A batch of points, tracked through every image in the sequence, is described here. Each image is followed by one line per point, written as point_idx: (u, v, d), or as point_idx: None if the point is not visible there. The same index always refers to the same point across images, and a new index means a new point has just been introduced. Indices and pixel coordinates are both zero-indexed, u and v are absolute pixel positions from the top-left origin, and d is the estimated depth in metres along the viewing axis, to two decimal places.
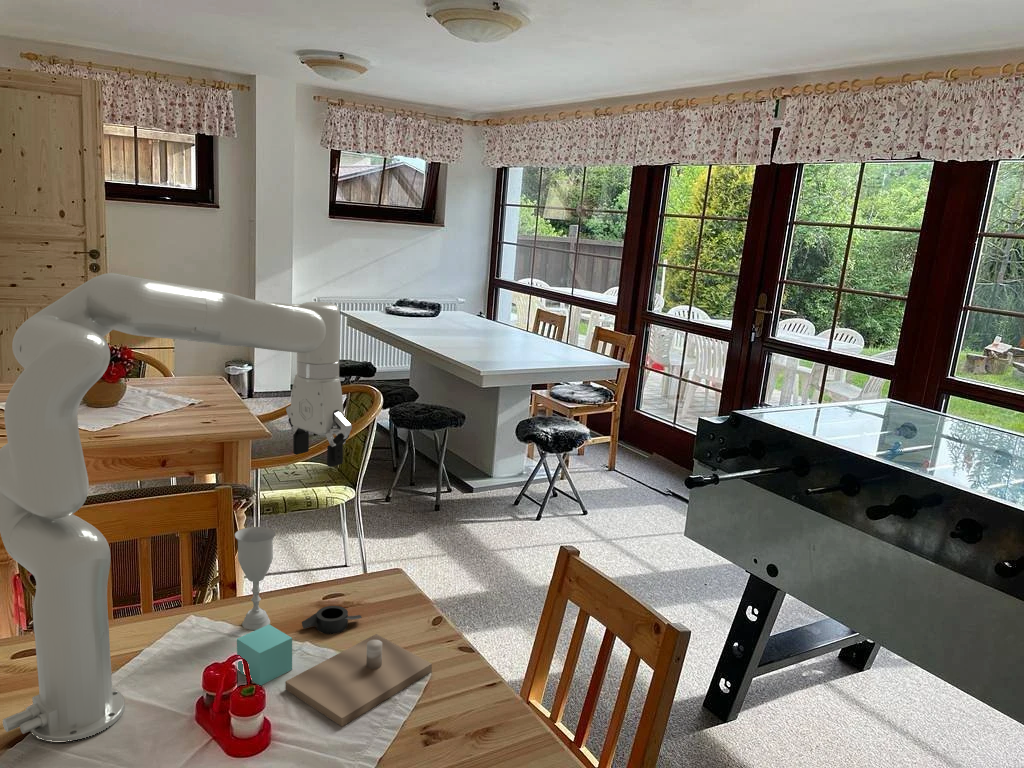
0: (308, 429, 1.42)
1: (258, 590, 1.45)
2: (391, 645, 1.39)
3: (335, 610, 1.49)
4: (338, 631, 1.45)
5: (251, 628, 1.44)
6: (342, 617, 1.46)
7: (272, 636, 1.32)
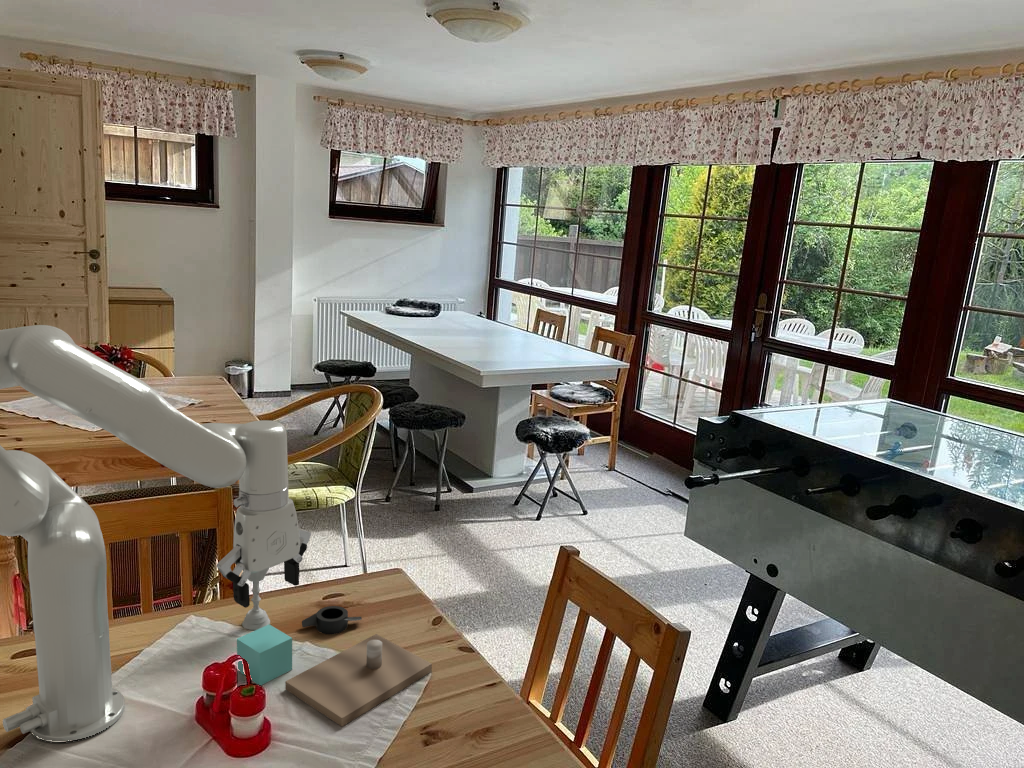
0: (281, 561, 1.27)
1: (258, 590, 1.45)
2: (391, 645, 1.39)
3: (336, 610, 1.49)
4: (337, 632, 1.45)
5: (251, 628, 1.44)
6: (341, 618, 1.45)
7: (272, 636, 1.32)
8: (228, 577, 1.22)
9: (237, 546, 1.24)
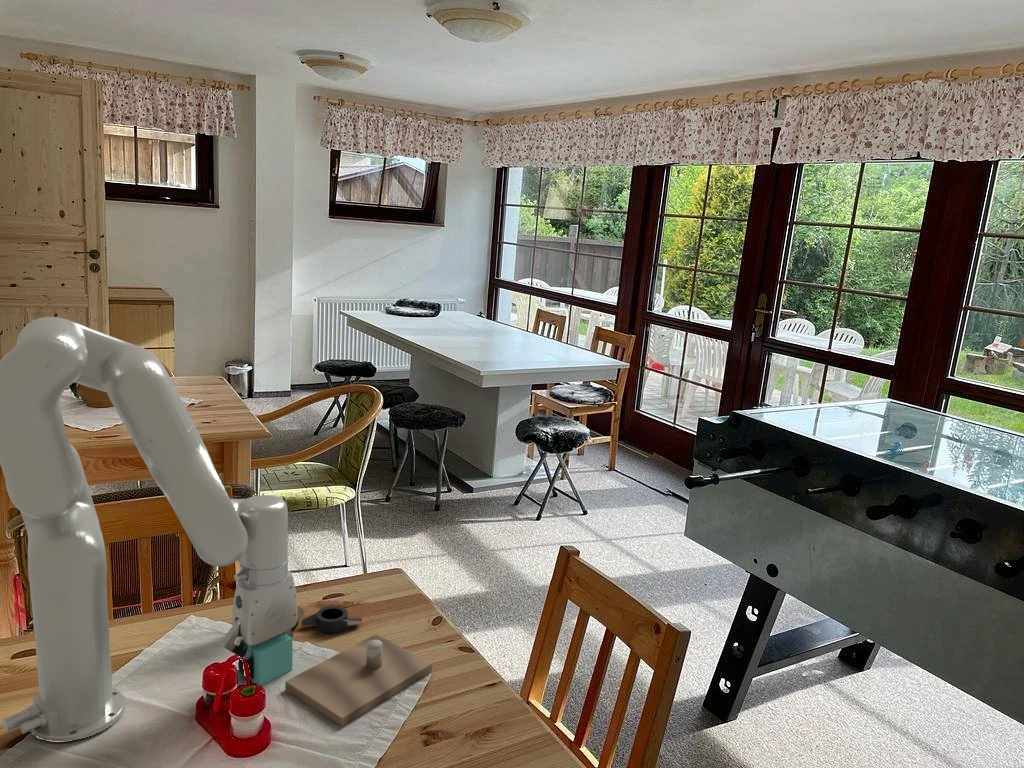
0: (278, 632, 1.30)
1: None
2: (391, 645, 1.39)
3: (337, 611, 1.49)
4: (335, 632, 1.45)
5: None
6: (340, 619, 1.45)
7: None
8: (234, 651, 1.26)
9: (236, 621, 1.26)
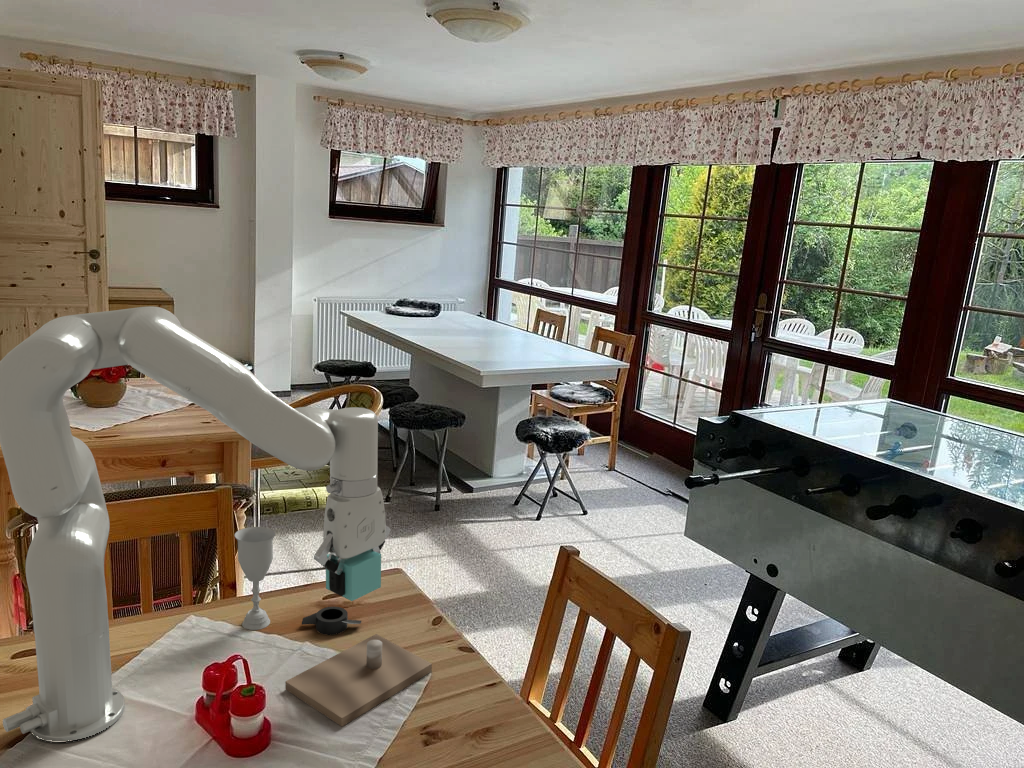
0: (369, 548, 1.27)
1: (258, 590, 1.45)
2: (391, 645, 1.39)
3: (338, 611, 1.48)
4: (333, 633, 1.44)
5: (251, 628, 1.44)
6: (338, 620, 1.45)
7: (361, 553, 1.29)
8: (327, 565, 1.23)
9: (328, 534, 1.24)
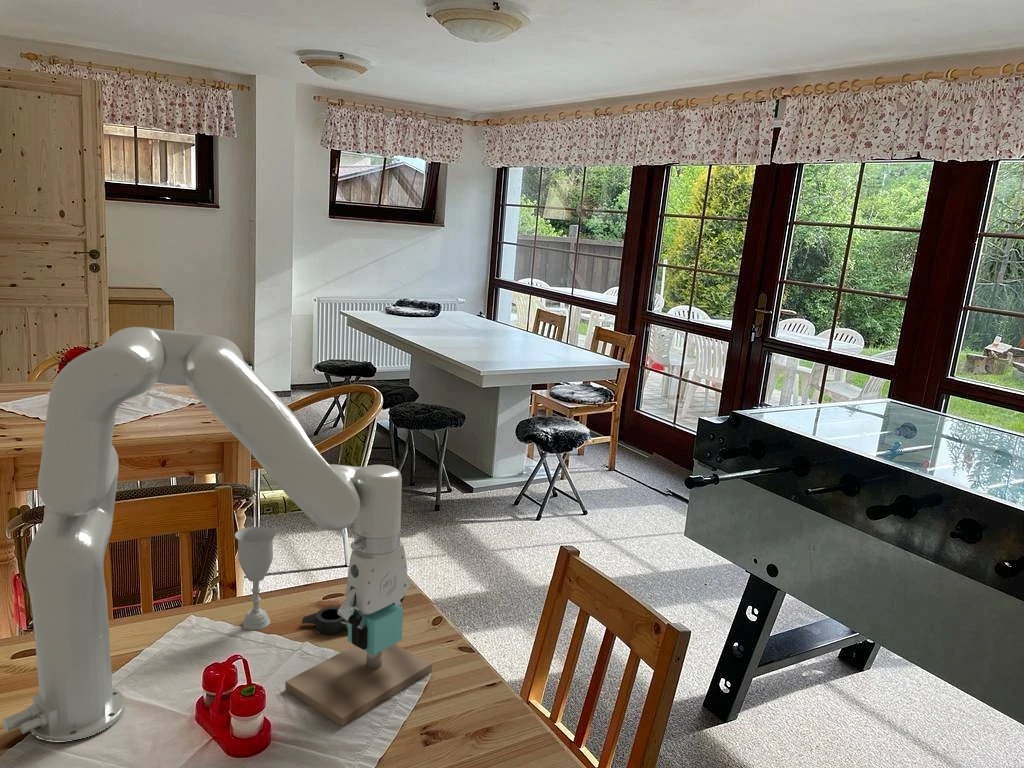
0: (391, 602, 1.29)
1: (258, 590, 1.45)
2: None
3: None
4: (331, 633, 1.44)
5: (251, 628, 1.44)
6: (337, 620, 1.44)
7: None
8: (350, 620, 1.25)
9: (351, 590, 1.26)
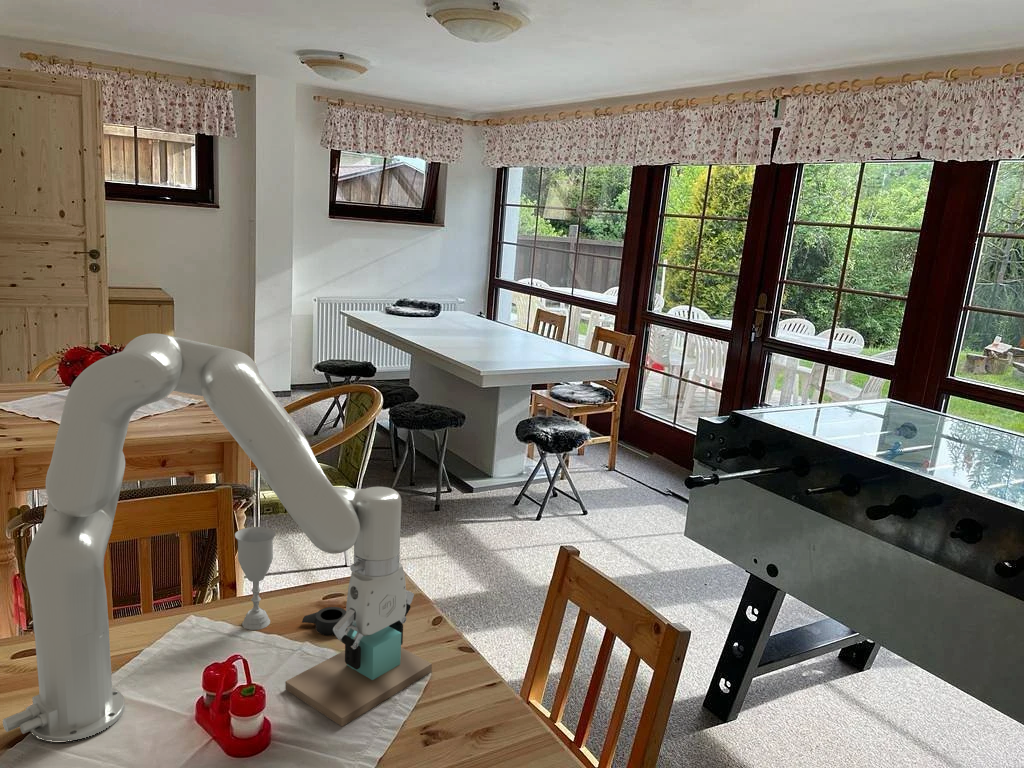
0: (390, 623, 1.30)
1: (258, 590, 1.45)
2: None
3: (339, 612, 1.48)
4: (330, 634, 1.44)
5: (251, 628, 1.44)
6: (335, 621, 1.44)
7: (381, 631, 1.33)
8: (343, 640, 1.25)
9: (351, 609, 1.27)
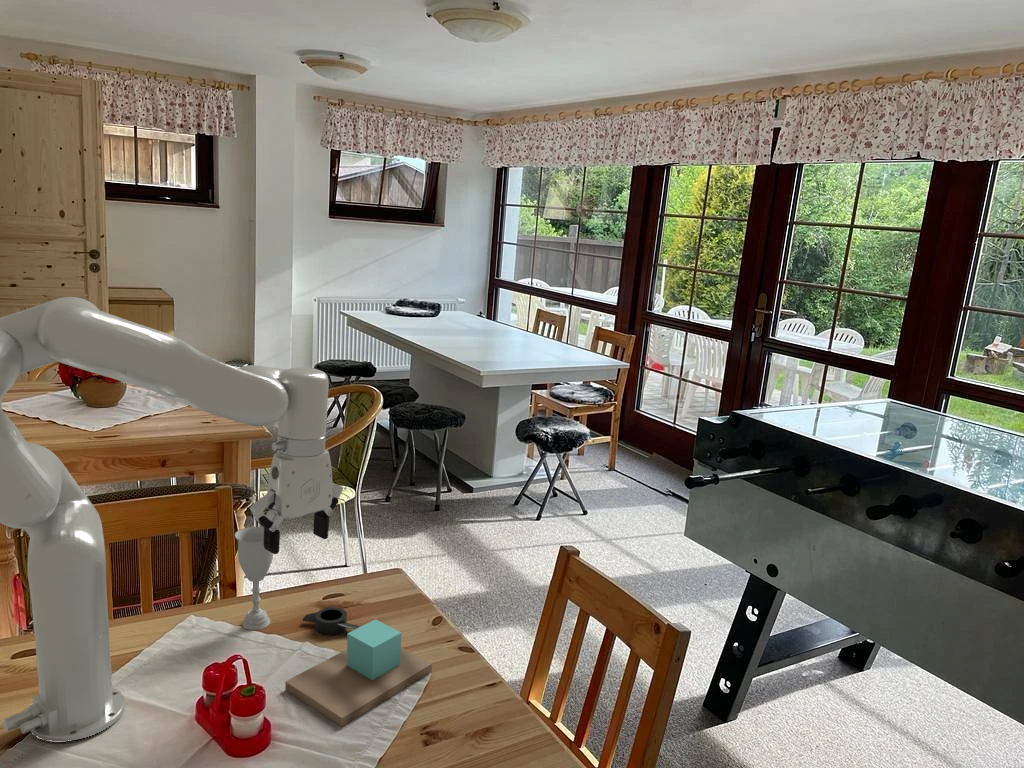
0: (312, 510, 1.27)
1: (258, 590, 1.45)
2: None
3: (339, 613, 1.48)
4: (327, 634, 1.44)
5: (251, 628, 1.44)
6: (333, 621, 1.44)
7: (381, 631, 1.33)
8: (260, 521, 1.21)
9: (271, 491, 1.23)
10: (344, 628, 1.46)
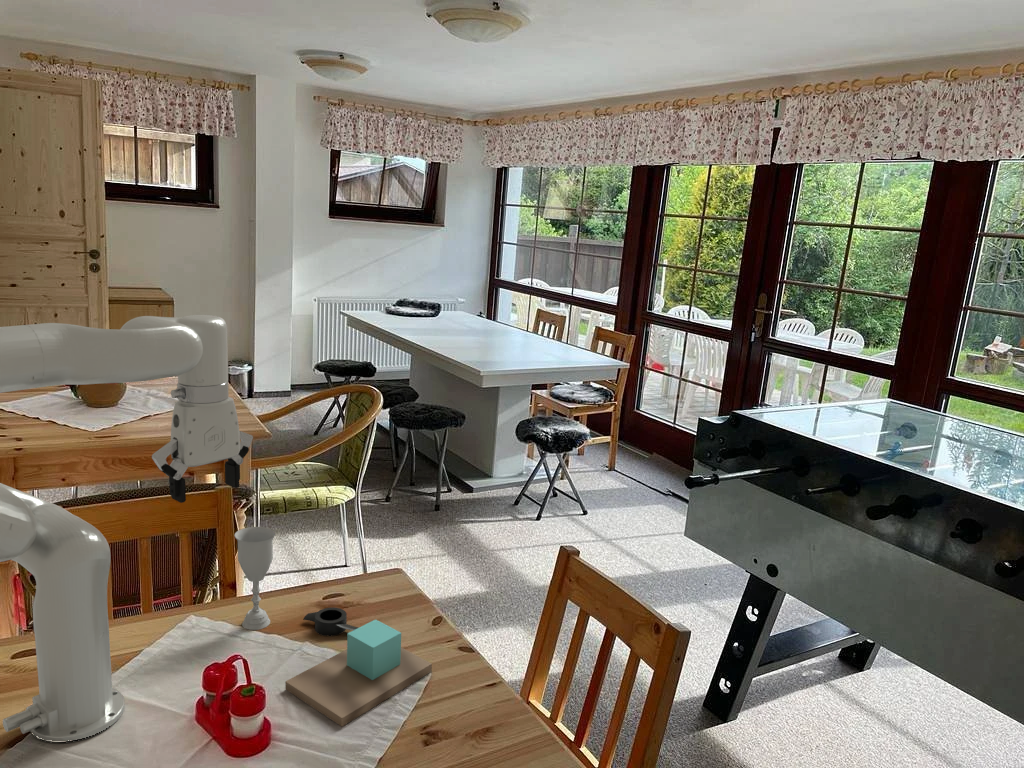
0: (219, 458, 1.26)
1: (258, 590, 1.45)
2: None
3: (340, 614, 1.48)
4: (325, 634, 1.44)
5: (251, 628, 1.44)
6: (332, 622, 1.44)
7: (381, 631, 1.33)
8: (163, 469, 1.21)
9: (173, 439, 1.23)
10: (343, 629, 1.45)
